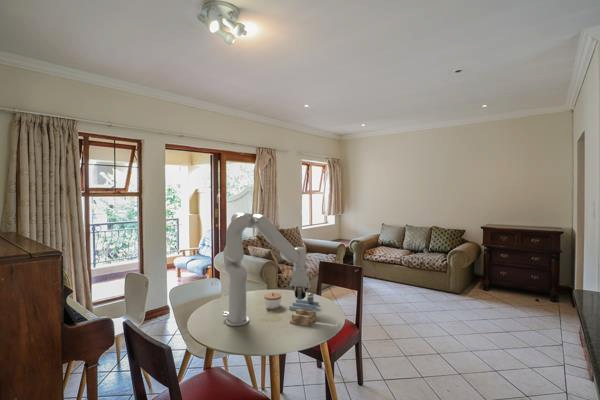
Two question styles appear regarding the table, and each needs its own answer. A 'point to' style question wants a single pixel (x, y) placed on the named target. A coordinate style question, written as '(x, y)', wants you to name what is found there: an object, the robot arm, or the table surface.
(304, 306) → the trough board
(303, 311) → the cradle
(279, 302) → the lidded jar
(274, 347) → the table surface
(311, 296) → the cell
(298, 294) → the cell
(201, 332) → the table surface
